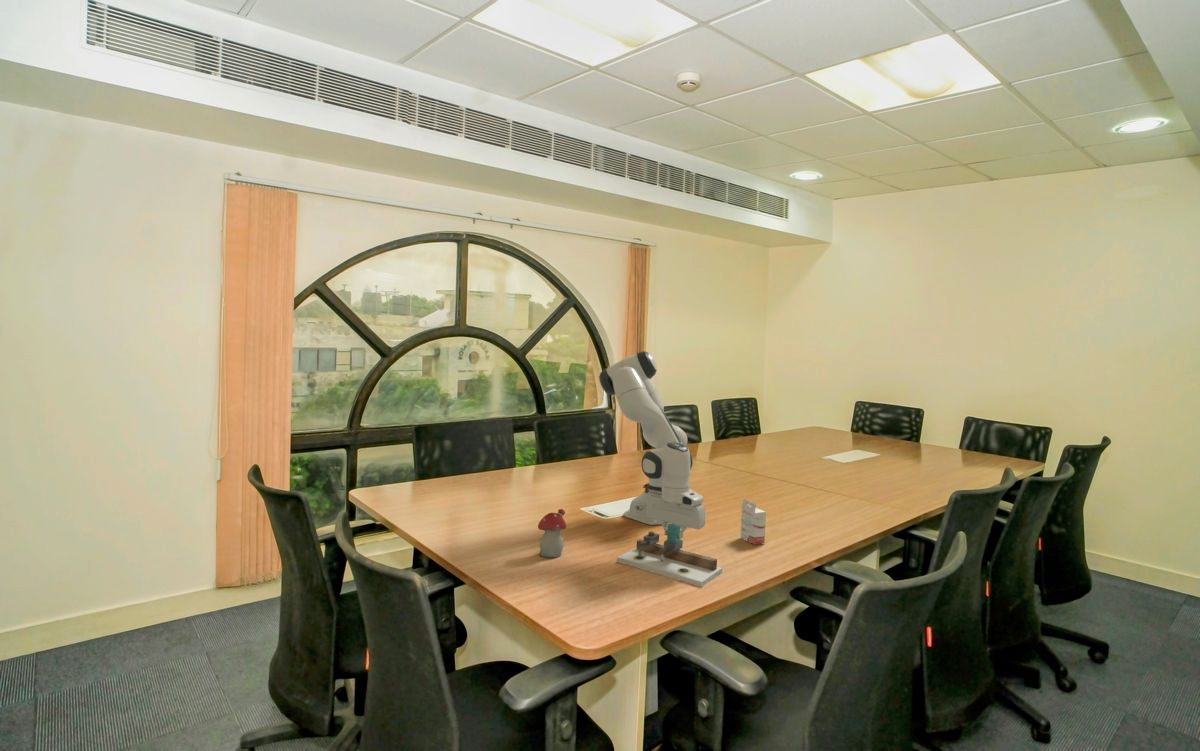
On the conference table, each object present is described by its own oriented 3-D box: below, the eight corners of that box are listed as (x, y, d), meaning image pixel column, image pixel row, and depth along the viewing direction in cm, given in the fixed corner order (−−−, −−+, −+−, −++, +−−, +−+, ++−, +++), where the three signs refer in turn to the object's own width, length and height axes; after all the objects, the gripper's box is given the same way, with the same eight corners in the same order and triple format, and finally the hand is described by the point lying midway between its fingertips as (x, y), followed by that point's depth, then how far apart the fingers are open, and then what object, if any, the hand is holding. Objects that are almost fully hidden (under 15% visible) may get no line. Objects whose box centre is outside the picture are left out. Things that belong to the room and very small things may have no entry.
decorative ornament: (565, 551, 198) (566, 507, 197) (566, 558, 192) (567, 512, 191) (537, 551, 197) (538, 507, 196) (537, 558, 191) (538, 512, 190)
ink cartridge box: (765, 544, 212) (767, 503, 211) (753, 545, 210) (755, 504, 209) (751, 536, 220) (753, 497, 219) (739, 537, 218) (741, 498, 217)
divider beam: (625, 554, 192) (626, 534, 192) (641, 546, 201) (642, 527, 200) (704, 577, 176) (705, 555, 176) (718, 567, 184) (719, 546, 184)
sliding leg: (655, 559, 186) (656, 529, 185) (671, 551, 194) (672, 522, 193) (666, 563, 184) (668, 532, 183) (682, 554, 192) (683, 525, 191)
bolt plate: (616, 561, 190) (617, 556, 190) (640, 550, 202) (640, 545, 202) (701, 586, 173) (702, 581, 173) (722, 572, 184) (722, 567, 184)
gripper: (642, 490, 193) (640, 532, 194) (699, 502, 181) (697, 546, 182) (652, 486, 198) (650, 527, 199) (708, 498, 186) (706, 541, 187)
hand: (673, 536), depth 190 cm, fingers closed on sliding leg, 3 cm apart
